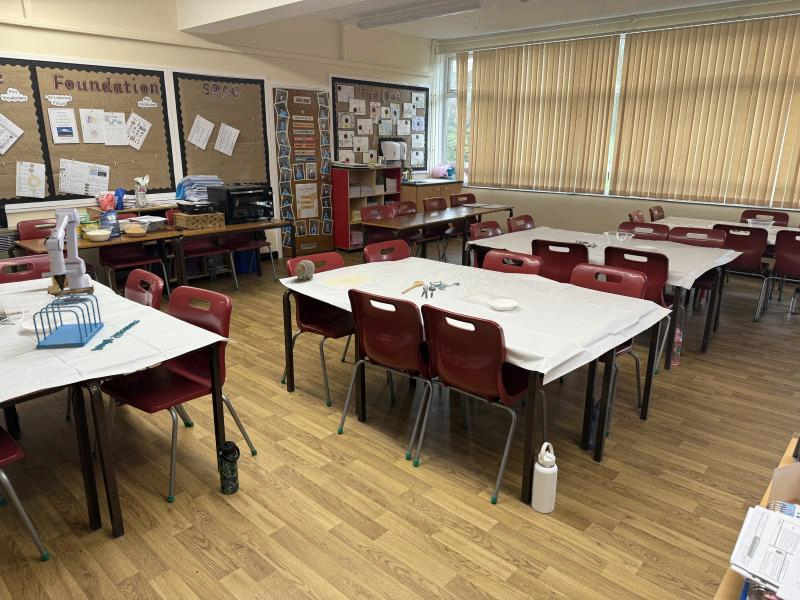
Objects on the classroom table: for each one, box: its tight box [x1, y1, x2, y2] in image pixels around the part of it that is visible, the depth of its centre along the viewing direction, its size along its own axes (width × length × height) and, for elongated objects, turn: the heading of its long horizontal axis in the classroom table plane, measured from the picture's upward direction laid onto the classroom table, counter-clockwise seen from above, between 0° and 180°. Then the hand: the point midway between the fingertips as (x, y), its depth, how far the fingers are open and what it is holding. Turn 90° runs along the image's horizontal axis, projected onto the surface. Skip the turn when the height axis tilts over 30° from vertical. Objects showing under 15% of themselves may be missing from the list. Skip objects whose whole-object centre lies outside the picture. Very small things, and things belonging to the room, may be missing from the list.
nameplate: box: [90, 319, 141, 351], centre depth 236 cm, size 37×1×5 cm
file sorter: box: [32, 293, 105, 349], centre depth 231 cm, size 25×17×15 cm
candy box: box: [48, 258, 69, 289], centre depth 308 cm, size 9×4×15 cm, turn 118°
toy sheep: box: [294, 259, 316, 281], centre depth 329 cm, size 11×17×11 cm, turn 160°
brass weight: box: [47, 284, 61, 294], centre depth 278 cm, size 4×4×4 cm
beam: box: [47, 284, 95, 298], centre depth 282 cm, size 20×6×4 cm, turn 119°
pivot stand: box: [65, 292, 81, 306], centre depth 282 cm, size 6×11×5 cm, turn 29°
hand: (62, 289), depth 280 cm, fingers closed
